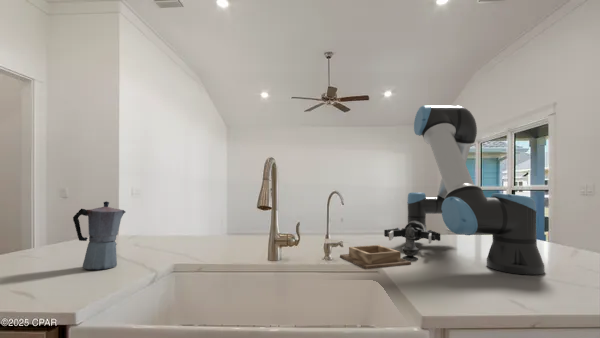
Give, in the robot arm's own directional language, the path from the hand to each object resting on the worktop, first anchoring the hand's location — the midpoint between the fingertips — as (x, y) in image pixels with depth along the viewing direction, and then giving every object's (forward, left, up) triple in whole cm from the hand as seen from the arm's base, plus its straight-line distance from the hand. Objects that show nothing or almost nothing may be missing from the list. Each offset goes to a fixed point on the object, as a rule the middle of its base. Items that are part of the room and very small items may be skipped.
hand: (409, 238), depth 116 cm
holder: (0, +15, -7) cm, 16 cm away
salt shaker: (-1, +1, -7) cm, 7 cm away
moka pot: (+20, +100, -7) cm, 102 cm away
